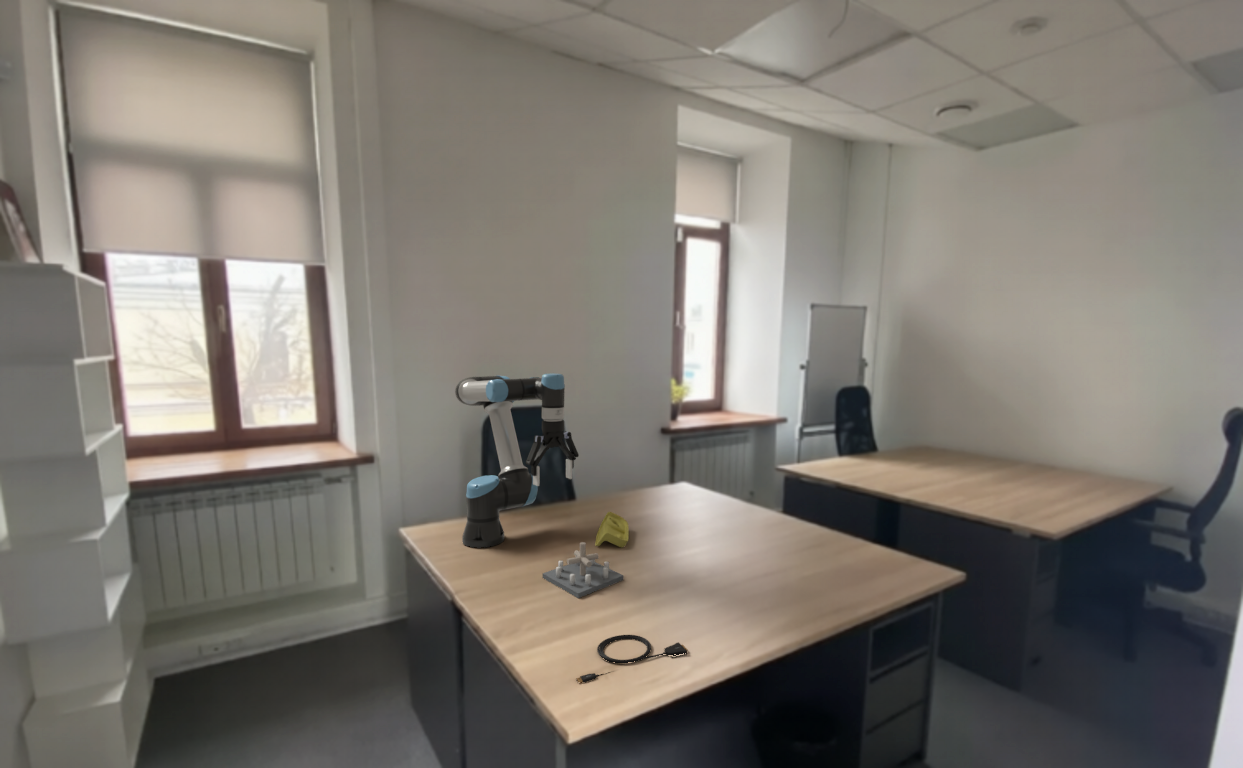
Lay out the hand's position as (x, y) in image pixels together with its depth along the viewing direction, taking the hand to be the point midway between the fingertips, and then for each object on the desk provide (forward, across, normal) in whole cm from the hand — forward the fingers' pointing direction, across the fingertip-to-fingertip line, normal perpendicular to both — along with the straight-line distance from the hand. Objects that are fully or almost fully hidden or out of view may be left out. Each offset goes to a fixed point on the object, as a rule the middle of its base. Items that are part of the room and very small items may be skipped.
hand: (553, 481), depth 184 cm
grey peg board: (+26, -3, -20) cm, 33 cm away
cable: (+27, -21, -58) cm, 67 cm away
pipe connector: (+25, -3, -20) cm, 32 cm away
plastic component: (+27, +27, -1) cm, 38 cm away
